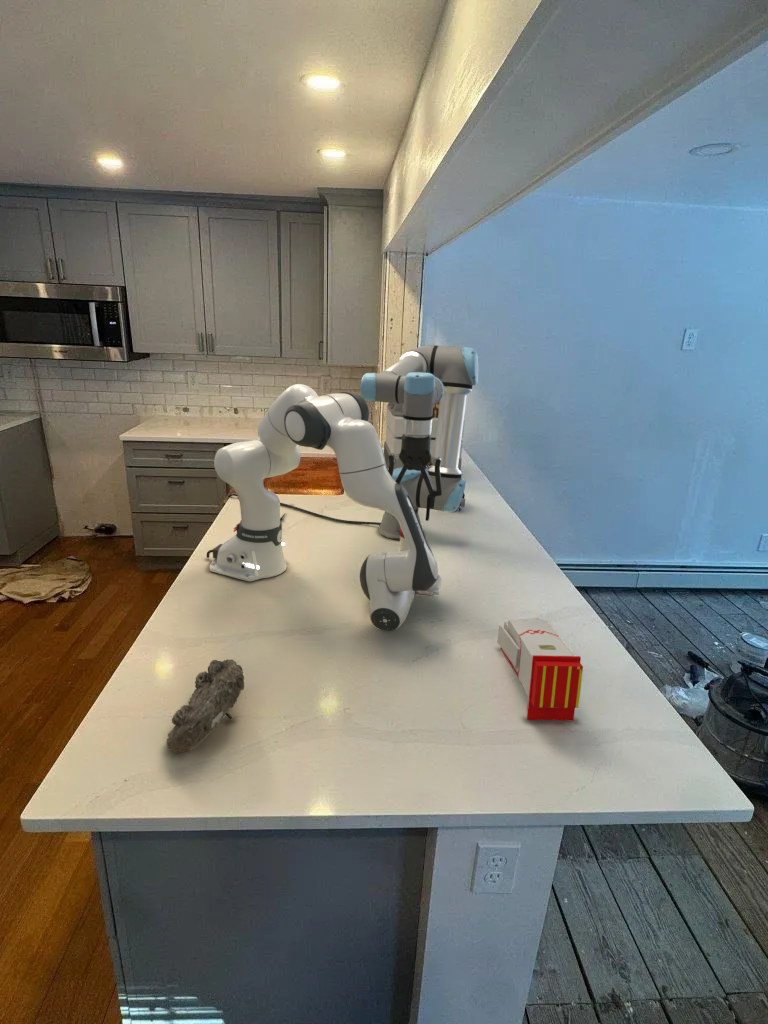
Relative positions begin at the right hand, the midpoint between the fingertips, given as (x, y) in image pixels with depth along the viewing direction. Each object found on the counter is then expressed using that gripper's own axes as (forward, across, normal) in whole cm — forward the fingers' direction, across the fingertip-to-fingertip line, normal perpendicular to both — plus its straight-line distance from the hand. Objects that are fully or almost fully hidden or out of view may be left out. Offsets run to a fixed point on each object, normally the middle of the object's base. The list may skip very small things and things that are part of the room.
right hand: (411, 517), depth 153 cm
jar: (+22, 0, 0) cm, 22 cm away
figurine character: (+22, -9, -76) cm, 80 cm away
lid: (+4, 0, 0) cm, 4 cm away
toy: (+22, -32, +35) cm, 52 cm away
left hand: (+16, 0, -1) cm, 16 cm away
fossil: (+22, +29, +62) cm, 71 cm away
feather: (+22, +52, -45) cm, 72 cm away
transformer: (+22, +11, -121) cm, 124 cm away
